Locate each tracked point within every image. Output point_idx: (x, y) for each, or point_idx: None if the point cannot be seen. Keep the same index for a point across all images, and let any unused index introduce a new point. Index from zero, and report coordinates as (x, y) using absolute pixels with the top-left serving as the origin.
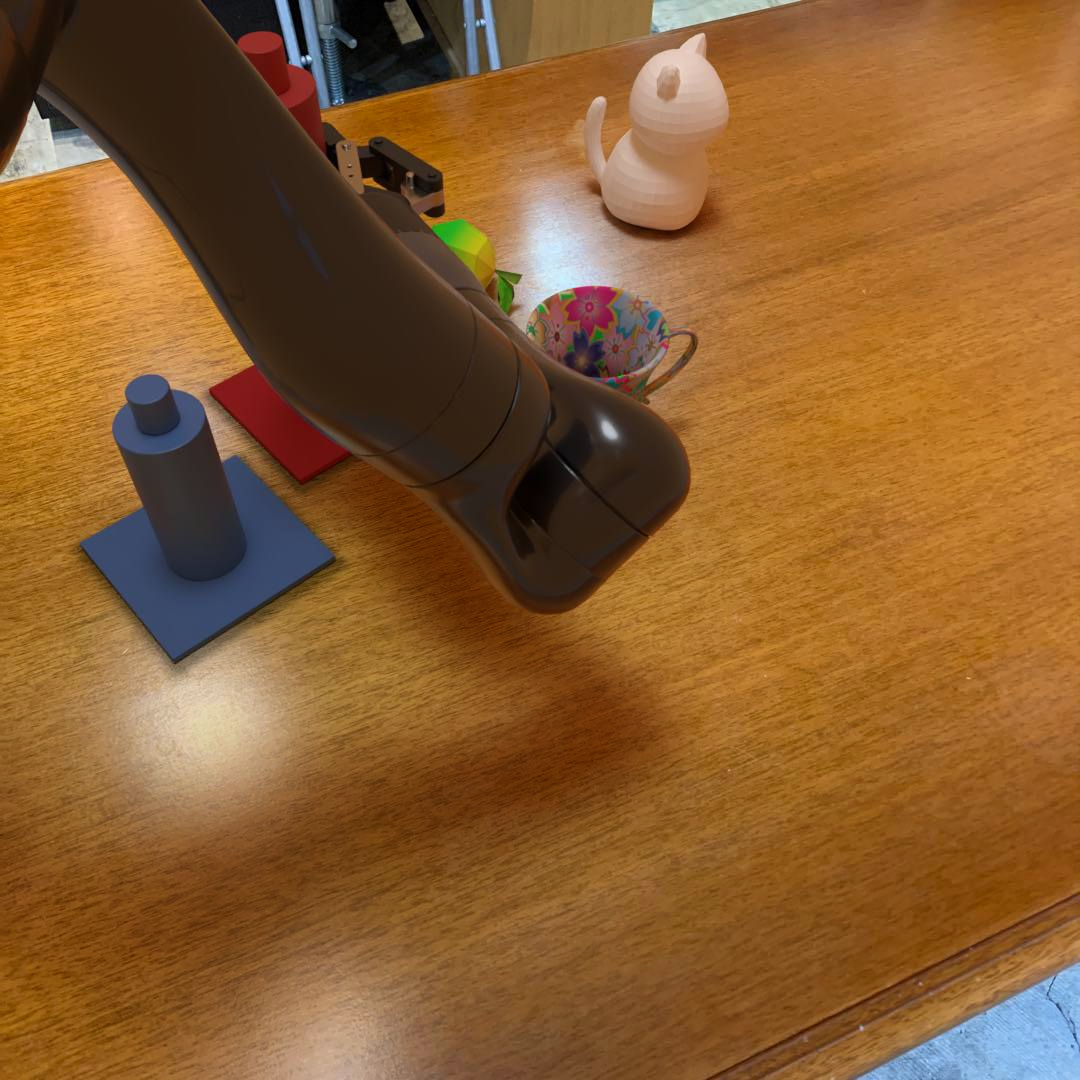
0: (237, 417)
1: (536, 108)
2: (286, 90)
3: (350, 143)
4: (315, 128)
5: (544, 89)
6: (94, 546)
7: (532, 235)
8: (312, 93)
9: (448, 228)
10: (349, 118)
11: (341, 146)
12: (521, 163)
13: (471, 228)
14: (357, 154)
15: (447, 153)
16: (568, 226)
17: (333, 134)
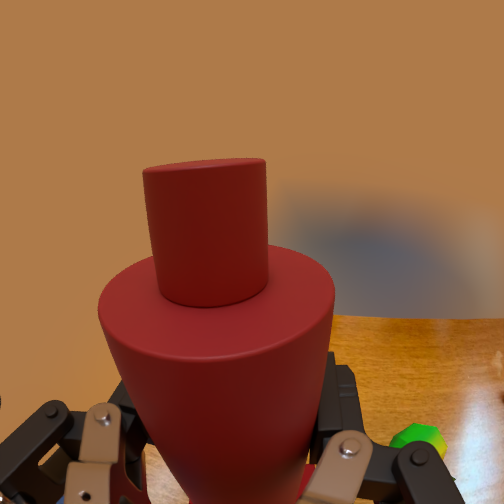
0: (189, 500)
1: (479, 339)
2: (232, 303)
3: (361, 445)
4: (276, 421)
5: (483, 329)
6: (60, 501)
7: (466, 428)
8: (294, 339)
9: (423, 432)
10: (387, 320)
11: (339, 447)
12: (469, 372)
13: (439, 436)
14: (358, 486)
15: (432, 355)
16: (486, 425)
17: (346, 397)
